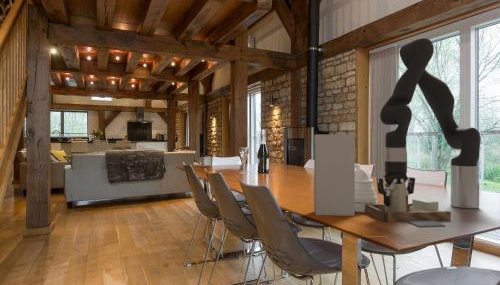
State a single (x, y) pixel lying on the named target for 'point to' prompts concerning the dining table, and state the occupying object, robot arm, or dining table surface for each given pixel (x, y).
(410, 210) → the offcut lower
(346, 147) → the tall grey box
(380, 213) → the rack
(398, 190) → the skincare box
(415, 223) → the felt mat
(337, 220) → the dining table surface
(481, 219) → the dining table surface
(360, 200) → the honey pot
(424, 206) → the offcut upper
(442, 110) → the robot arm
